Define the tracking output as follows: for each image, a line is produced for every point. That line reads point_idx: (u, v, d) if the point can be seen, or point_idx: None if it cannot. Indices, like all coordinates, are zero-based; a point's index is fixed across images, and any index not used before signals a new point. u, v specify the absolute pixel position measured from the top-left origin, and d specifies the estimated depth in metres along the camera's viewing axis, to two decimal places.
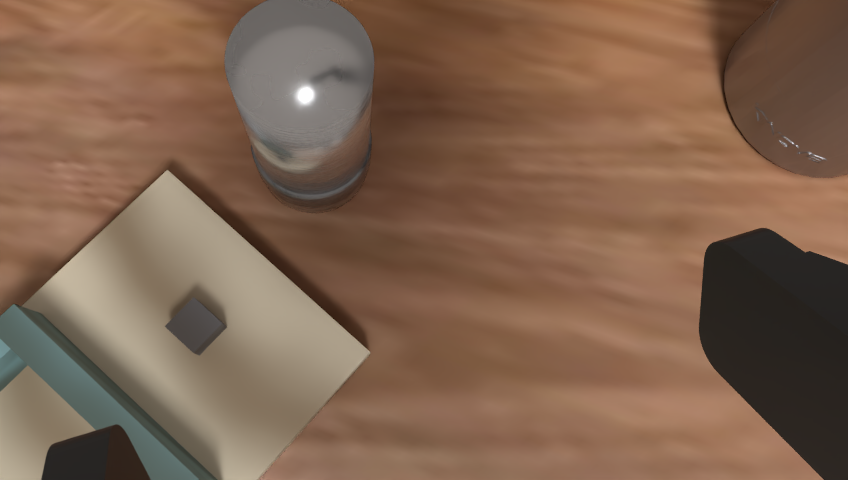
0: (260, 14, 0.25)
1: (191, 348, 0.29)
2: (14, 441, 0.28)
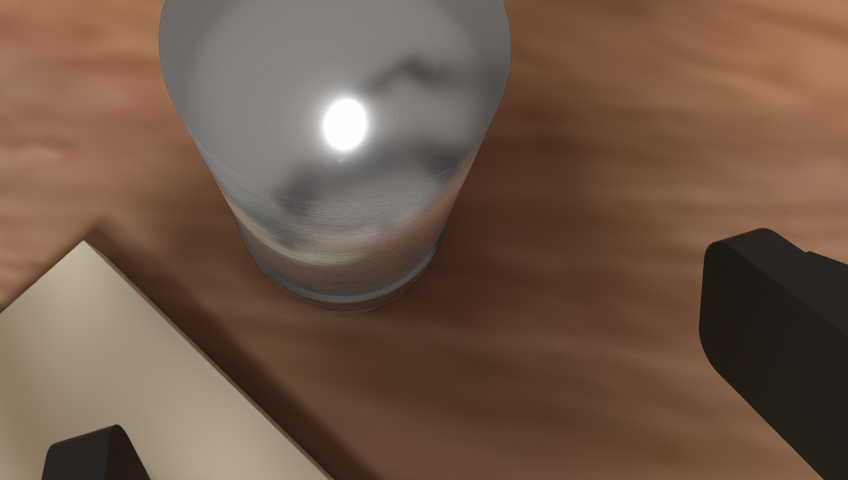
0: None
1: None
2: None
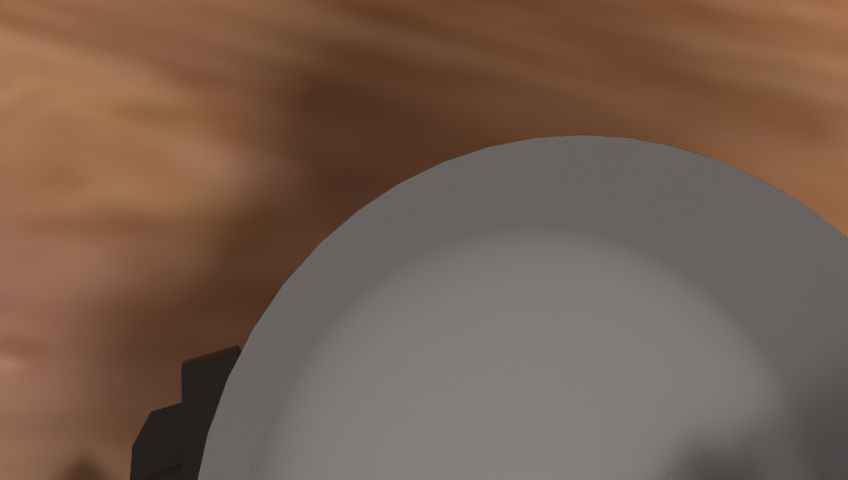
0: (393, 251, 0.05)
1: None
2: None
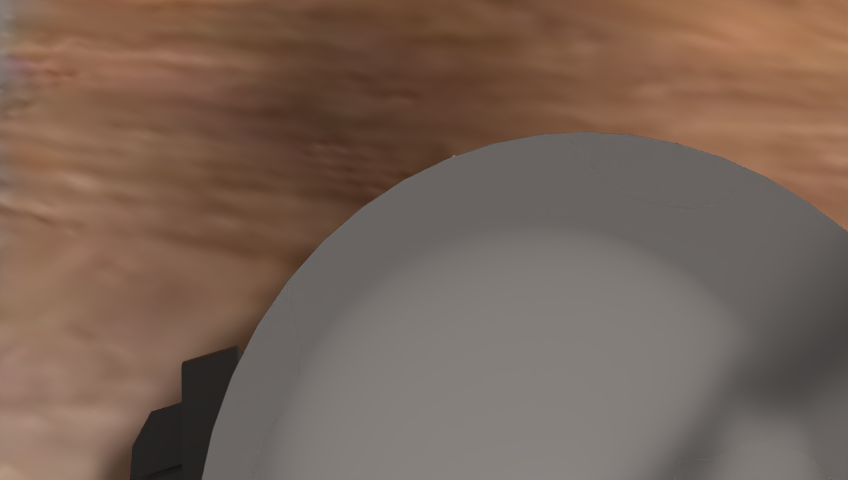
0: (398, 247, 0.05)
1: None
2: None
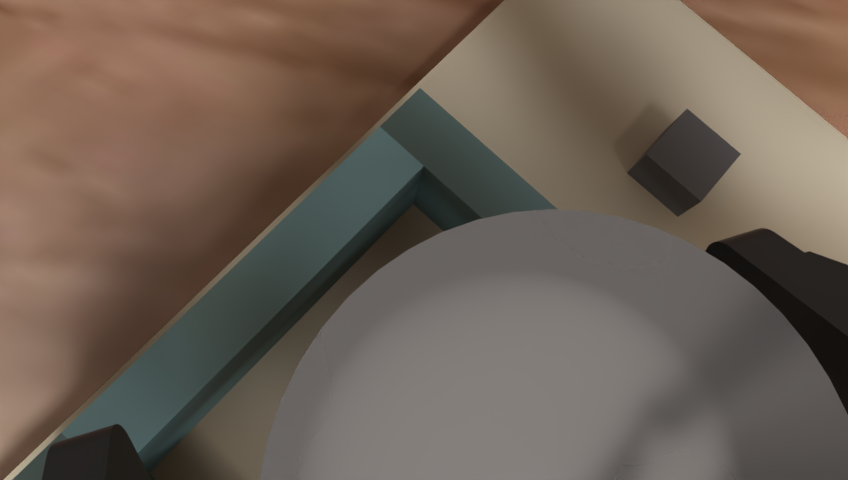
0: (405, 302, 0.06)
1: (697, 193, 0.16)
2: None
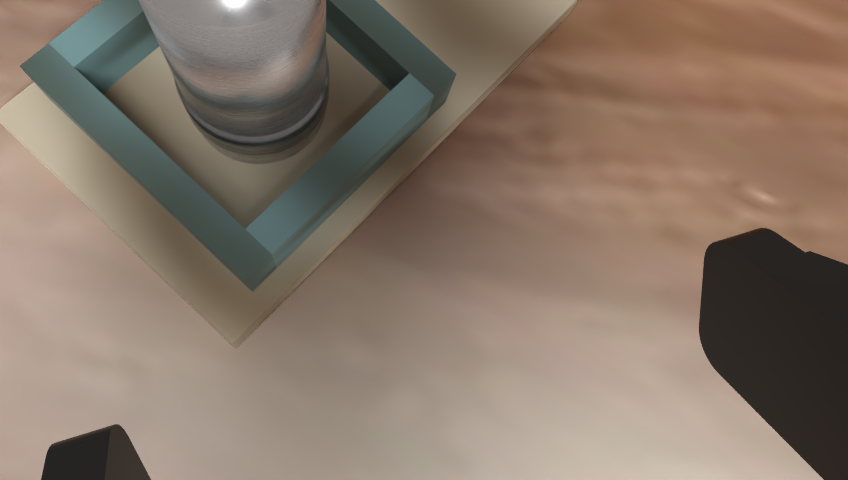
0: None
1: None
2: None
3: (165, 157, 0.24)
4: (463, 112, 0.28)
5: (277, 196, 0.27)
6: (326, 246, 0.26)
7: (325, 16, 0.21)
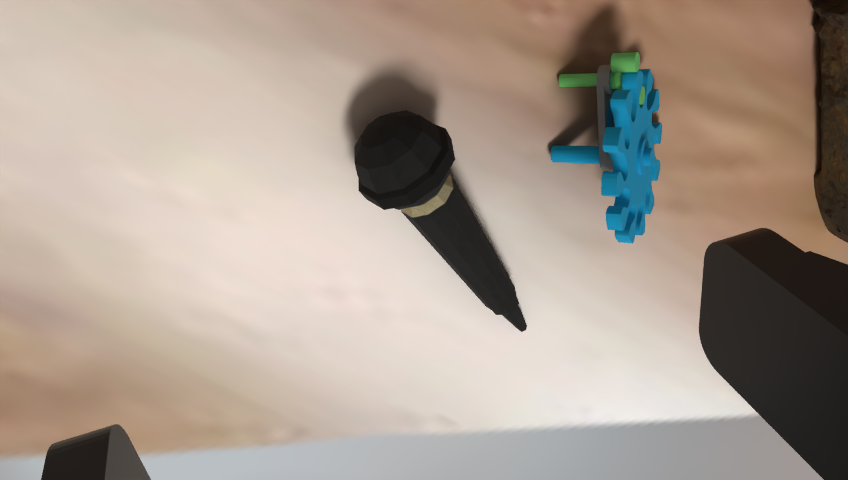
0: None
1: None
2: None
3: None
4: None
5: None
6: None
7: None
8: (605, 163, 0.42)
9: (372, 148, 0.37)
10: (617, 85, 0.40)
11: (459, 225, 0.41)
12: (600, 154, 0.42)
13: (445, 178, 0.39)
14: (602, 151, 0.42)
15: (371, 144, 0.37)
